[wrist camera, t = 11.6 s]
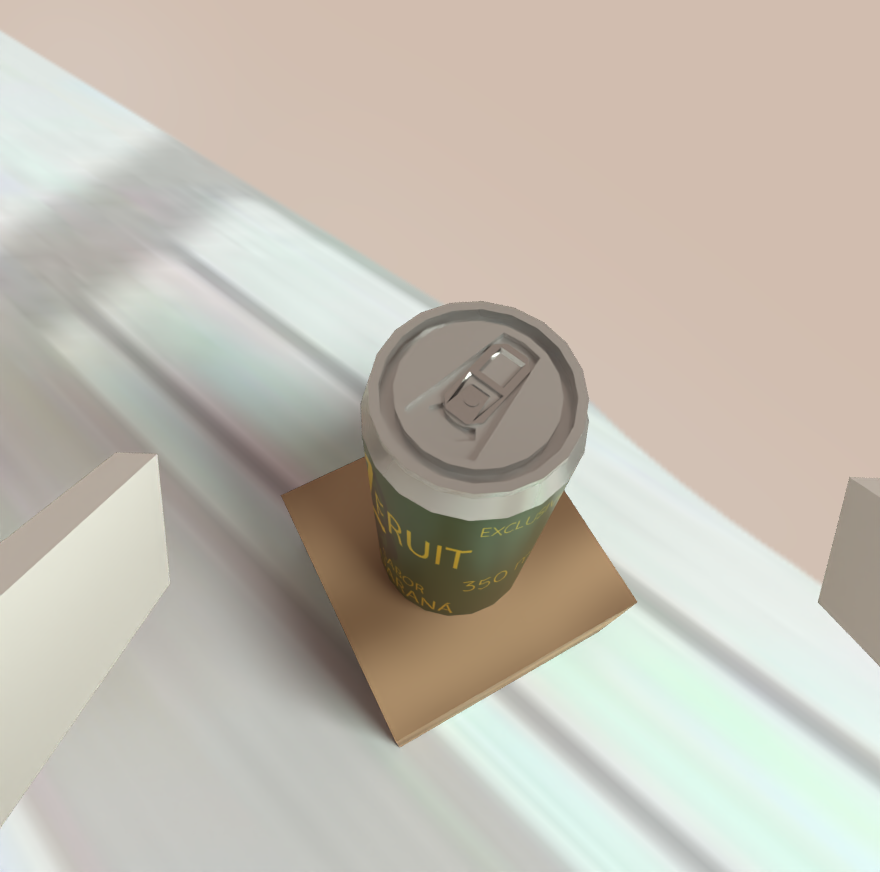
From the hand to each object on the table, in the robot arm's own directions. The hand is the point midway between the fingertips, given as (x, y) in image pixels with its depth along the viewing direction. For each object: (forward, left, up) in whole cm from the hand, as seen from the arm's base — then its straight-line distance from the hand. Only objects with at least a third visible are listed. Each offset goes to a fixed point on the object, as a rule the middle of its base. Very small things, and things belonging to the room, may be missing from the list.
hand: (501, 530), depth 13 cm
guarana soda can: (-3, +1, -13) cm, 13 cm away
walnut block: (-3, +1, -19) cm, 19 cm away
